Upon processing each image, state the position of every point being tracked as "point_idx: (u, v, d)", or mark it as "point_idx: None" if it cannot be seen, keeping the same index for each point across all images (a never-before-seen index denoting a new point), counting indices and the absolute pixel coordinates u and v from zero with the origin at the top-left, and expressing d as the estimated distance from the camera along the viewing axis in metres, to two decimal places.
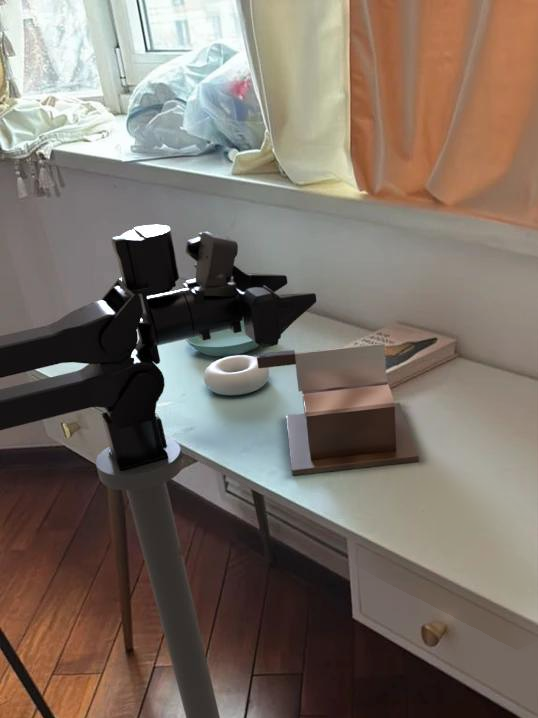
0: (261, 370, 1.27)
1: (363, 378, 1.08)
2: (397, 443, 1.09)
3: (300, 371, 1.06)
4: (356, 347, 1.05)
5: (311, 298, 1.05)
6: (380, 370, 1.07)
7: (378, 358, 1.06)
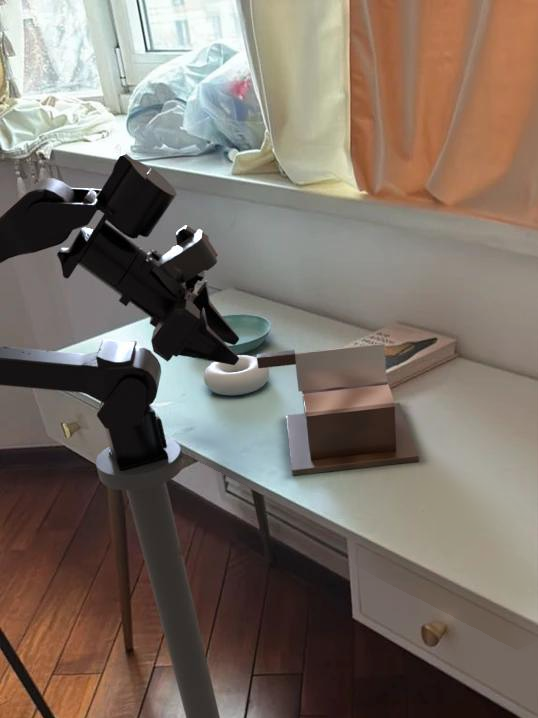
0: (261, 370, 1.27)
1: (363, 378, 1.08)
2: (397, 443, 1.09)
3: (300, 371, 1.06)
4: (356, 347, 1.05)
5: (232, 358, 1.01)
6: (380, 370, 1.07)
7: (378, 358, 1.06)
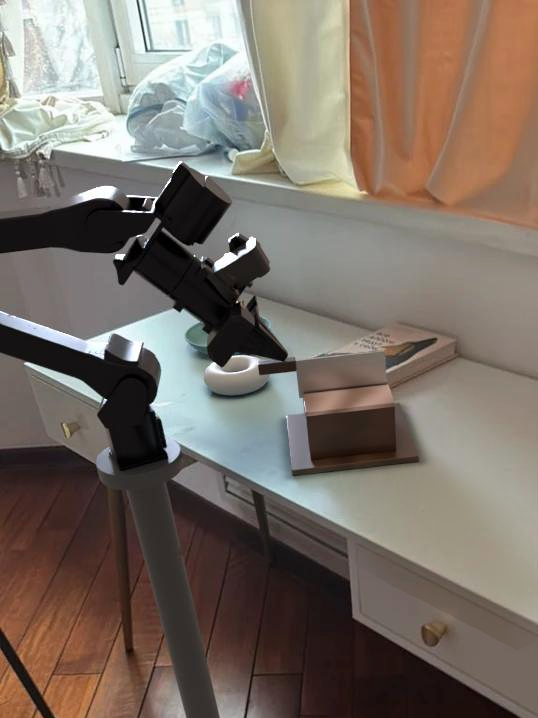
0: None
1: (363, 385, 1.08)
2: (397, 443, 1.09)
3: (301, 378, 1.07)
4: (356, 354, 1.06)
5: (282, 354, 1.04)
6: (380, 377, 1.08)
7: (379, 365, 1.07)
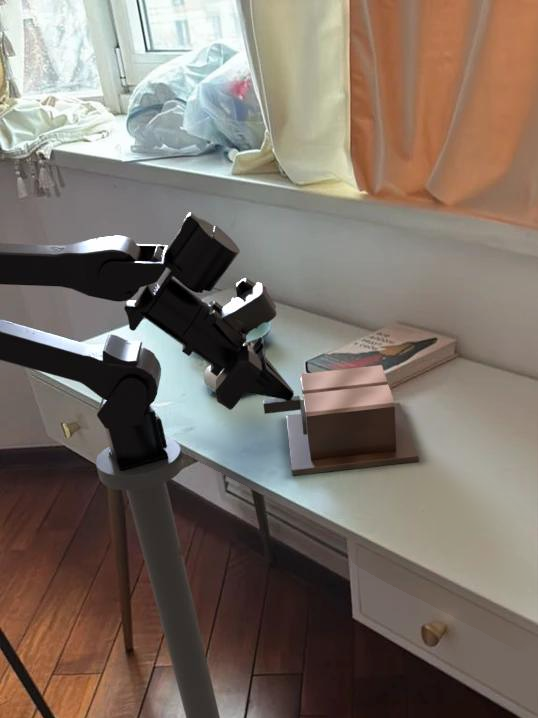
0: None
1: None
2: (397, 443, 1.09)
3: None
4: None
5: (288, 394, 1.08)
6: None
7: None
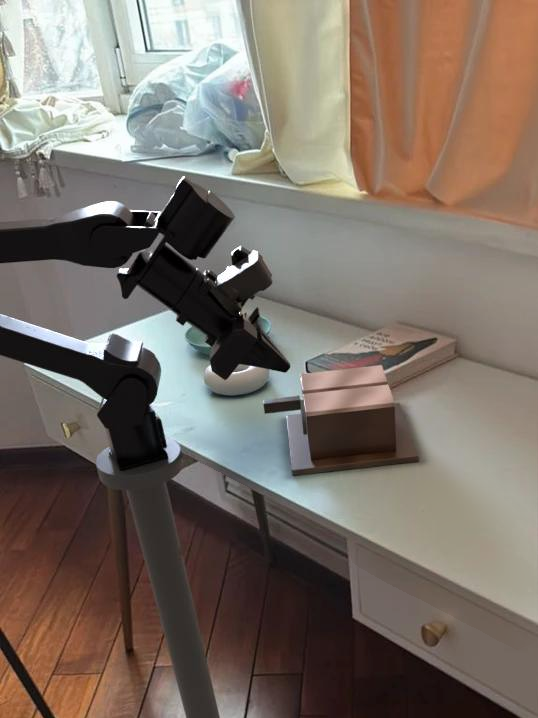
0: (261, 370, 1.27)
1: None
2: (397, 443, 1.09)
3: None
4: None
5: (284, 366, 1.05)
6: None
7: None
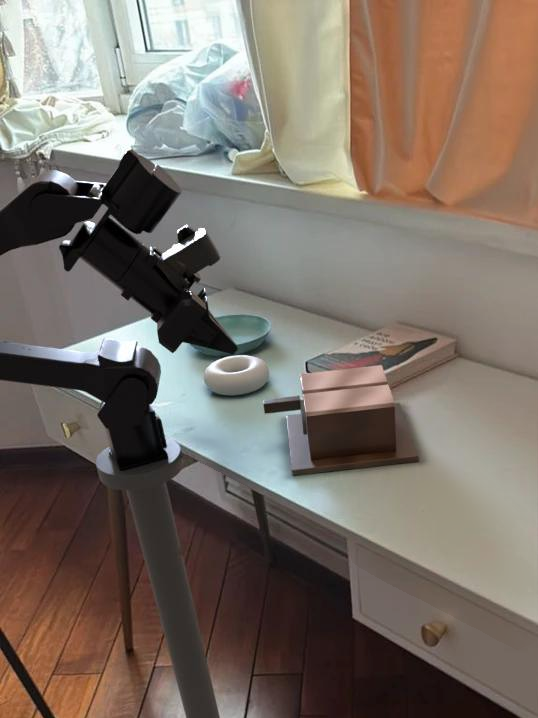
0: (261, 370, 1.27)
1: None
2: (397, 443, 1.09)
3: None
4: None
5: (231, 347, 1.04)
6: None
7: None
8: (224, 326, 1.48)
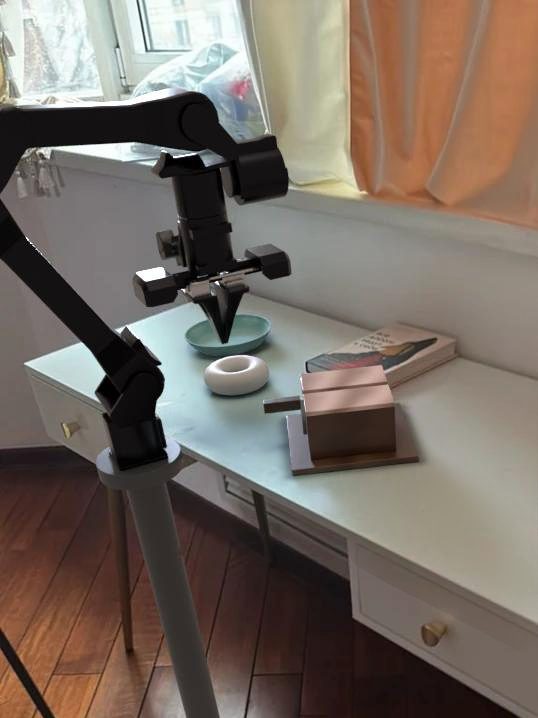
0: (261, 370, 1.27)
1: None
2: (397, 443, 1.09)
3: None
4: None
5: None
6: None
7: None
8: None
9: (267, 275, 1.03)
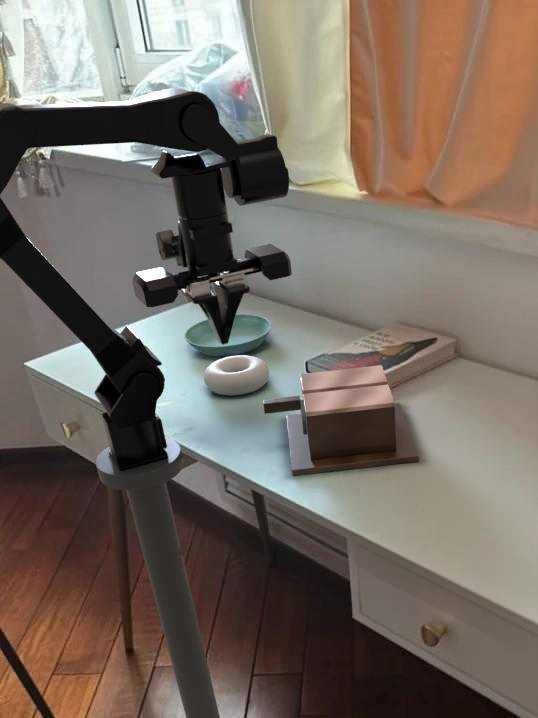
0: (261, 370, 1.27)
1: None
2: (397, 443, 1.09)
3: None
4: None
5: None
6: None
7: None
8: None
9: (268, 275, 1.03)
